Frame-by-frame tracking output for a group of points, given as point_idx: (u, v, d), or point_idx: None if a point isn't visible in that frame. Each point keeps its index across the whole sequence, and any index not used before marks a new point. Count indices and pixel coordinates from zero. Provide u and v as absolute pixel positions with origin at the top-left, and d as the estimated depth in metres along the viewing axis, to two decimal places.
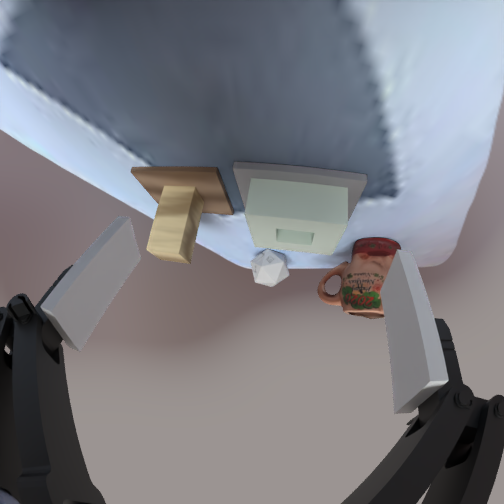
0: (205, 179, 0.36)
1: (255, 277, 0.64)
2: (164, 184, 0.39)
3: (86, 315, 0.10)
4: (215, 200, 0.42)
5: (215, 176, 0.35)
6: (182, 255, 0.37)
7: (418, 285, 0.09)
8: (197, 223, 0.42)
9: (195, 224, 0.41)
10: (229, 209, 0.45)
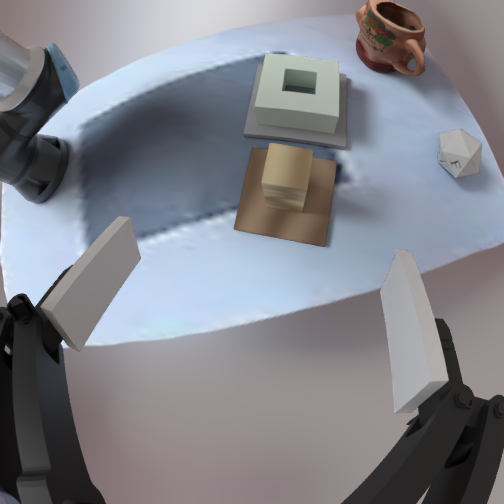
0: (261, 159, 0.40)
1: (464, 159, 0.31)
2: (264, 205, 0.40)
3: (86, 315, 0.10)
4: None
5: (258, 149, 0.41)
6: (281, 145, 0.30)
7: (418, 285, 0.09)
8: None
9: None
10: (323, 160, 0.39)
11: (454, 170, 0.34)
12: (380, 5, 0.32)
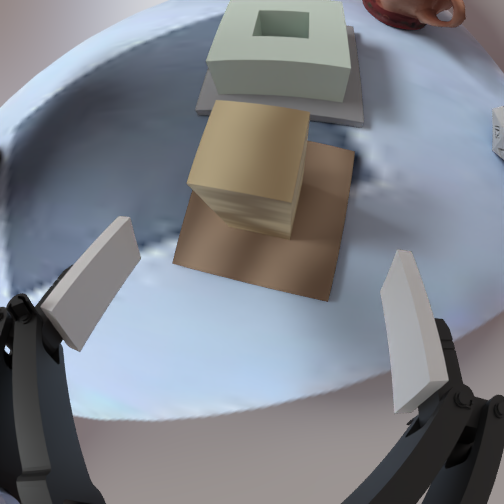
0: None
1: None
2: (225, 224, 0.23)
3: (86, 315, 0.10)
4: None
5: None
6: None
7: (418, 285, 0.09)
8: None
9: None
10: (331, 148, 0.22)
11: None
12: None
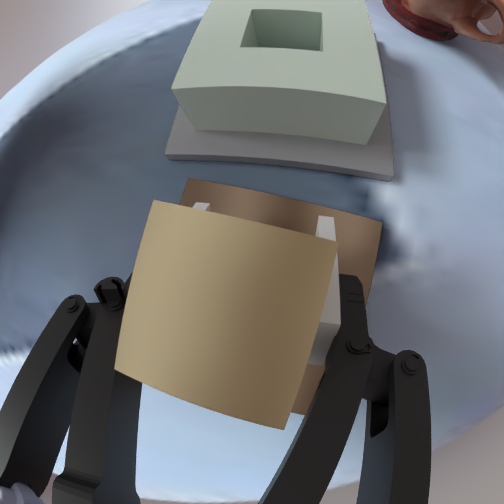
0: None
1: None
2: None
3: None
4: (298, 231, 0.17)
5: (200, 184, 0.18)
6: None
7: None
8: None
9: None
10: (351, 216, 0.16)
11: None
12: None
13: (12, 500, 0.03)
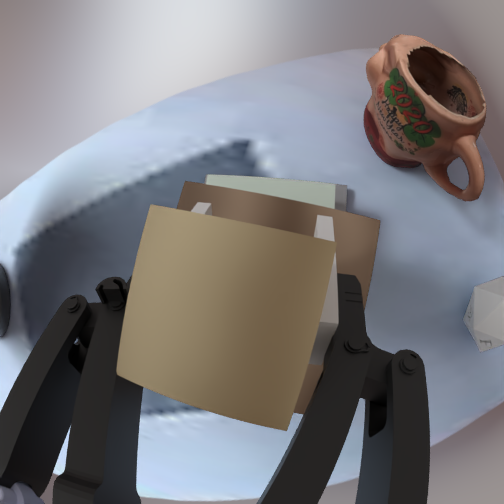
0: None
1: (499, 342, 0.19)
2: None
3: None
4: (296, 231, 0.17)
5: (197, 186, 0.18)
6: None
7: None
8: None
9: None
10: (349, 215, 0.16)
11: (481, 346, 0.22)
12: None
13: (12, 500, 0.03)
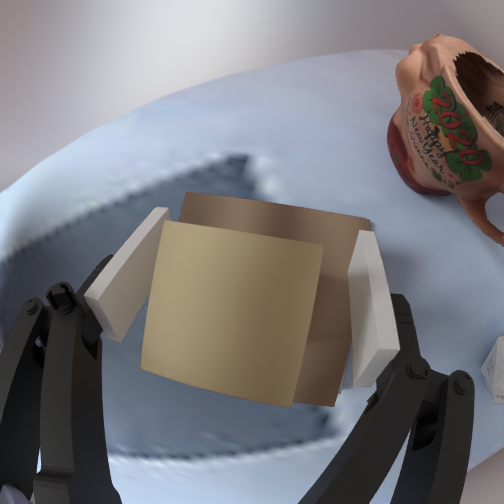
0: (203, 218, 0.19)
1: None
2: None
3: (128, 304, 0.11)
4: (292, 234, 0.18)
5: (197, 196, 0.19)
6: None
7: (376, 261, 0.11)
8: None
9: None
10: (340, 217, 0.18)
11: (497, 400, 0.16)
12: None
13: (4, 502, 0.02)
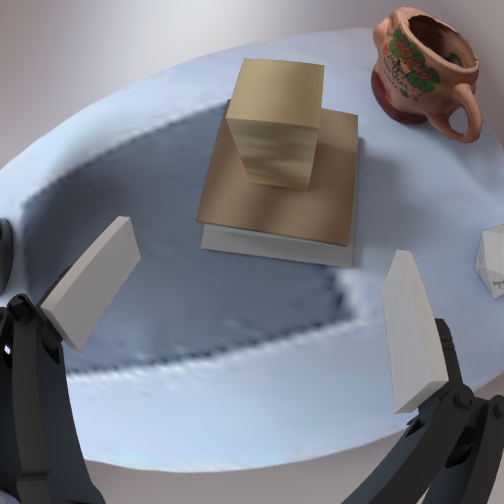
0: None
1: None
2: (246, 180, 0.24)
3: (86, 315, 0.10)
4: None
5: None
6: None
7: (418, 285, 0.09)
8: None
9: None
10: (336, 112, 0.24)
11: (495, 290, 0.22)
12: (407, 18, 0.21)
13: None
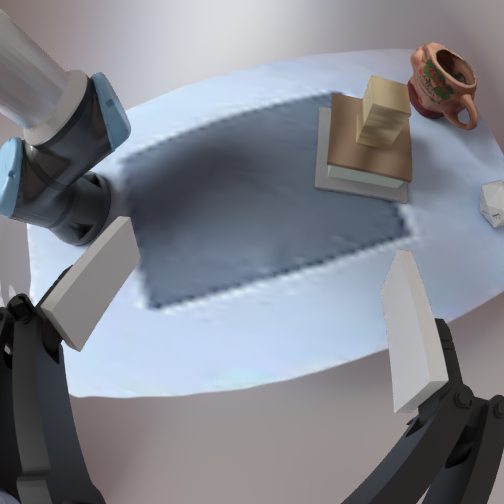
0: (343, 103, 0.37)
1: None
2: (353, 141, 0.36)
3: (86, 315, 0.10)
4: None
5: (338, 95, 0.38)
6: None
7: (418, 285, 0.09)
8: None
9: None
10: None
11: (494, 221, 0.35)
12: None
13: None
